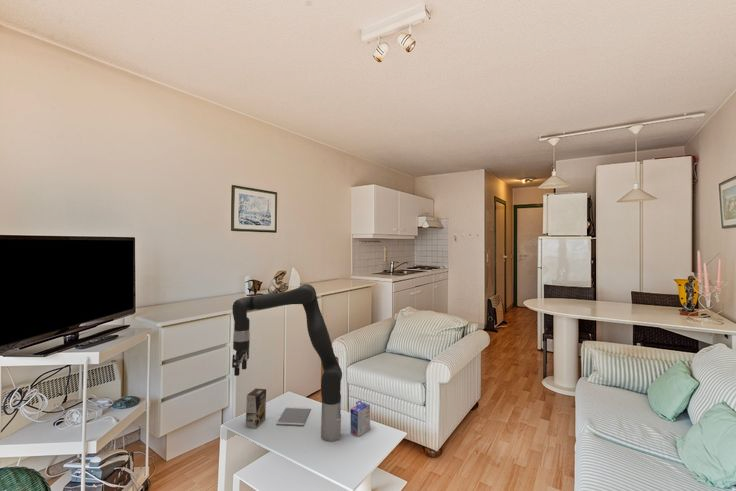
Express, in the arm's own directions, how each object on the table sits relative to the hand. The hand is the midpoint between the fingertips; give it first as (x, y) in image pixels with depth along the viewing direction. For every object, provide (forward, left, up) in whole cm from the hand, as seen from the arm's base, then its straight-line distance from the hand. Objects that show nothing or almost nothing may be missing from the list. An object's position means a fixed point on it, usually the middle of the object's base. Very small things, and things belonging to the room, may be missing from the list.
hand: (240, 372), depth 164 cm
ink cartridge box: (-59, -6, -30) cm, 66 cm away
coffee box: (-5, -9, -30) cm, 31 cm away
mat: (-23, -17, -29) cm, 41 cm away
